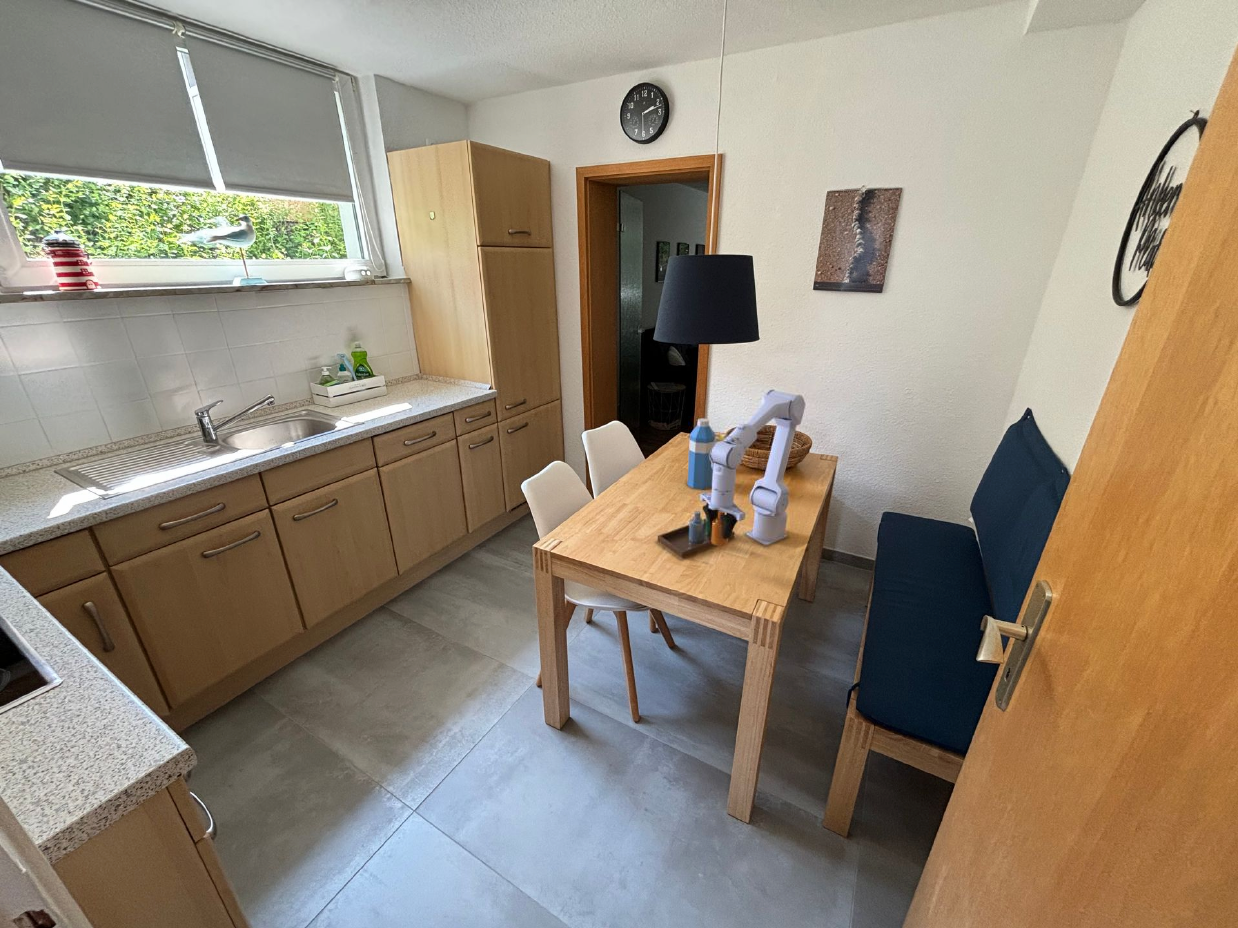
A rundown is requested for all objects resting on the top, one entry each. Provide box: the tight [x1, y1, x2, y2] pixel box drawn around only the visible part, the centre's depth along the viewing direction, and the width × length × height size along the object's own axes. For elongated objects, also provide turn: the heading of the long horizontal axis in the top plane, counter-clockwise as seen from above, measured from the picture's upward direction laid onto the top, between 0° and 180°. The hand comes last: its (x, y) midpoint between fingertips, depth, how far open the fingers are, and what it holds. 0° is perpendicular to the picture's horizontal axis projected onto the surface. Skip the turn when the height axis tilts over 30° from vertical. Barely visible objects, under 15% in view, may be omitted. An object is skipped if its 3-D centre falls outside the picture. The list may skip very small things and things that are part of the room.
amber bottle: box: [711, 511, 729, 547], centre depth 132 cm, size 4×4×9 cm
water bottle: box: [687, 417, 715, 490], centre depth 181 cm, size 9×9×25 cm
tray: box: [657, 518, 735, 559], centre depth 148 cm, size 20×11×2 cm, turn 123°
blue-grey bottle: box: [688, 510, 705, 543], centre depth 146 cm, size 4×4×9 cm
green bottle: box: [705, 516, 712, 536], centre depth 149 cm, size 4×4×9 cm
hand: (719, 533), depth 133 cm, fingers closed on amber bottle, 4 cm apart
